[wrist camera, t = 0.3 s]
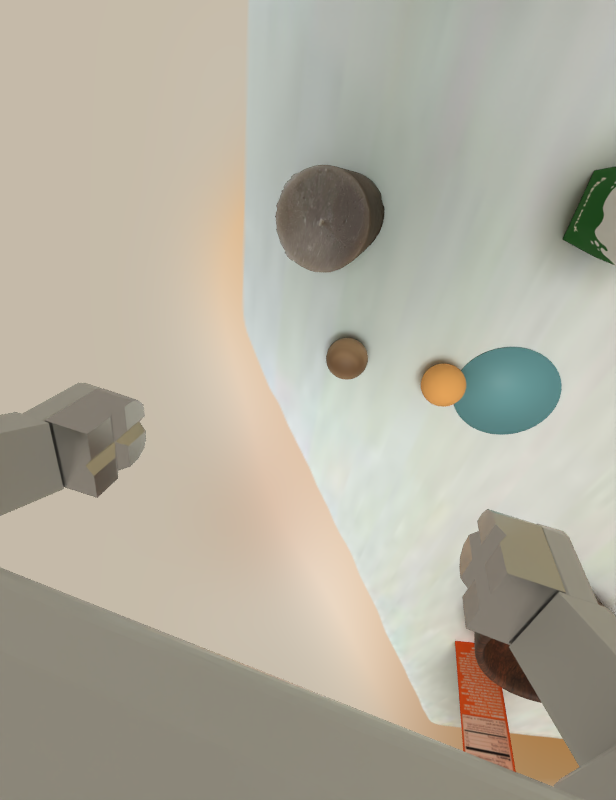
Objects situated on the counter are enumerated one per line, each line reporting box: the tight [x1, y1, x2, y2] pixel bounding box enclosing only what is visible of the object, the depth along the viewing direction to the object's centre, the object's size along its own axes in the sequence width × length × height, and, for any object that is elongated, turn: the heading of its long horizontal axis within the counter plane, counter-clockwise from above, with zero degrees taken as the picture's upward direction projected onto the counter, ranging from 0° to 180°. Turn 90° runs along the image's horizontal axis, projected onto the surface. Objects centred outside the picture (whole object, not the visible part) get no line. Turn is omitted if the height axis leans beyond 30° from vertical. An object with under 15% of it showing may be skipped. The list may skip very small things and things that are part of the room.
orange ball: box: [421, 364, 466, 406], centre depth 53 cm, size 6×6×6 cm
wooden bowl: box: [474, 600, 603, 703], centre depth 69 cm, size 25×25×10 cm
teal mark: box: [454, 347, 561, 434], centre depth 54 cm, size 14×14×1 cm
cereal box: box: [455, 641, 516, 772], centre depth 74 cm, size 23×8×30 cm, turn 15°
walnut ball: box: [326, 338, 368, 379], centre depth 54 cm, size 6×6×6 cm
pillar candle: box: [275, 165, 384, 272], centre depth 42 cm, size 10×10×15 cm
